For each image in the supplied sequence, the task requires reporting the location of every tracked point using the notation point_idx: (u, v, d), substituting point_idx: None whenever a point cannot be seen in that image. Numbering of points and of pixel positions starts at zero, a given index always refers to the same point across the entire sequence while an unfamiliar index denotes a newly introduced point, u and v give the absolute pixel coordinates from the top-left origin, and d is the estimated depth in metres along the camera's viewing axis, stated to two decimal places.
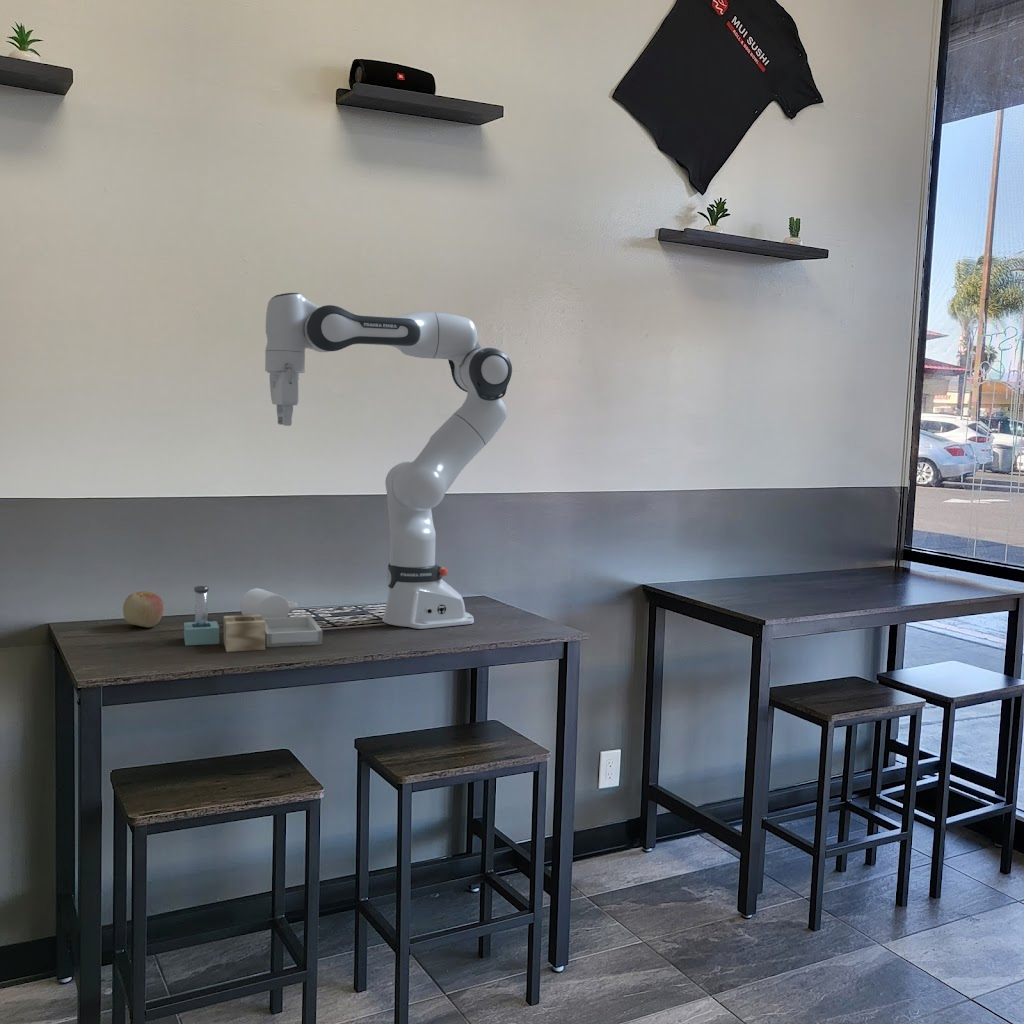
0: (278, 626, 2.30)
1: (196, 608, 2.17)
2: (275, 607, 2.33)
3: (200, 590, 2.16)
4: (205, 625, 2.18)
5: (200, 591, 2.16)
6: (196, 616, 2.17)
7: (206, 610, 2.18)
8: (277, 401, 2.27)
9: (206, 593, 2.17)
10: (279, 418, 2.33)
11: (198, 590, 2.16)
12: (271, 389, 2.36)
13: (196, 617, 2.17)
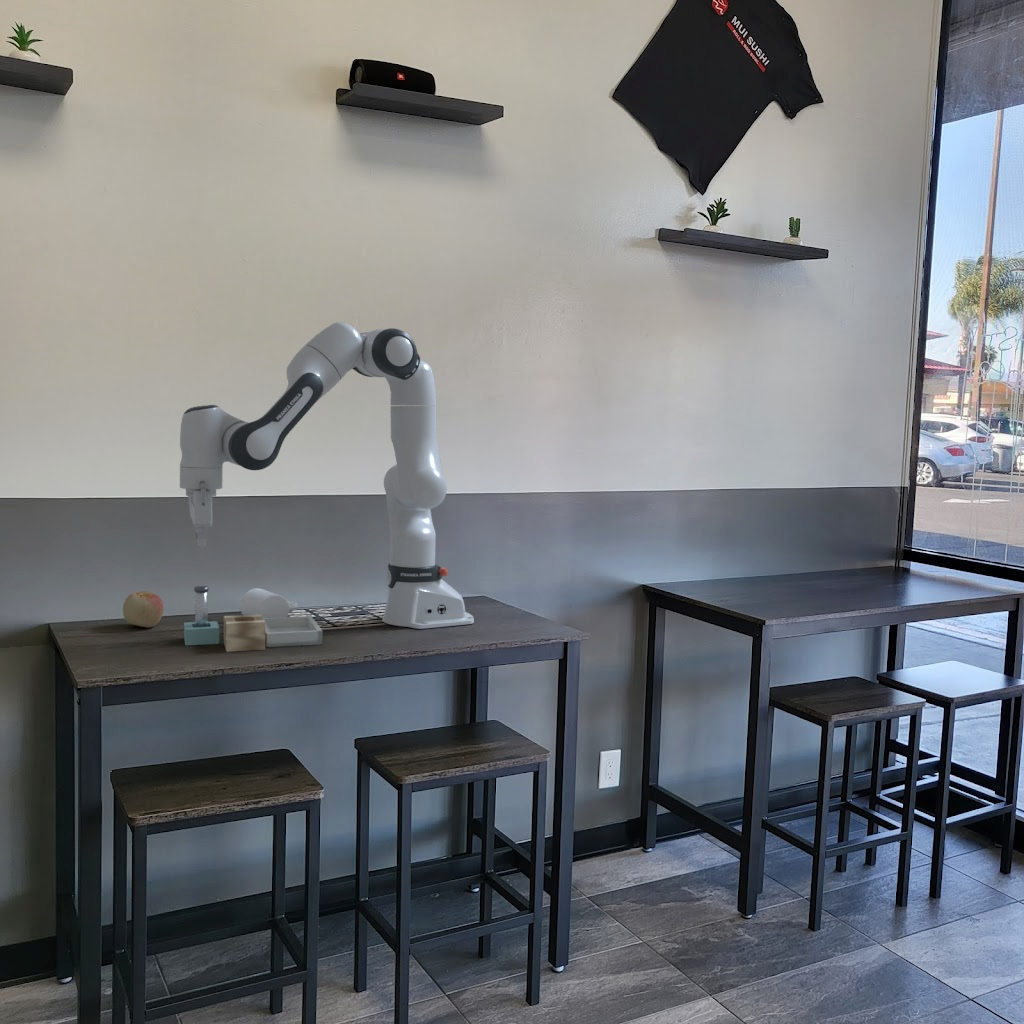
0: (278, 626, 2.30)
1: (196, 608, 2.17)
2: (275, 607, 2.33)
3: (200, 590, 2.16)
4: (205, 625, 2.18)
5: (200, 591, 2.16)
6: (196, 616, 2.17)
7: (206, 610, 2.18)
8: (192, 520, 2.14)
9: (206, 593, 2.17)
10: (196, 534, 2.20)
11: (198, 590, 2.16)
12: (189, 502, 2.23)
13: (196, 617, 2.17)
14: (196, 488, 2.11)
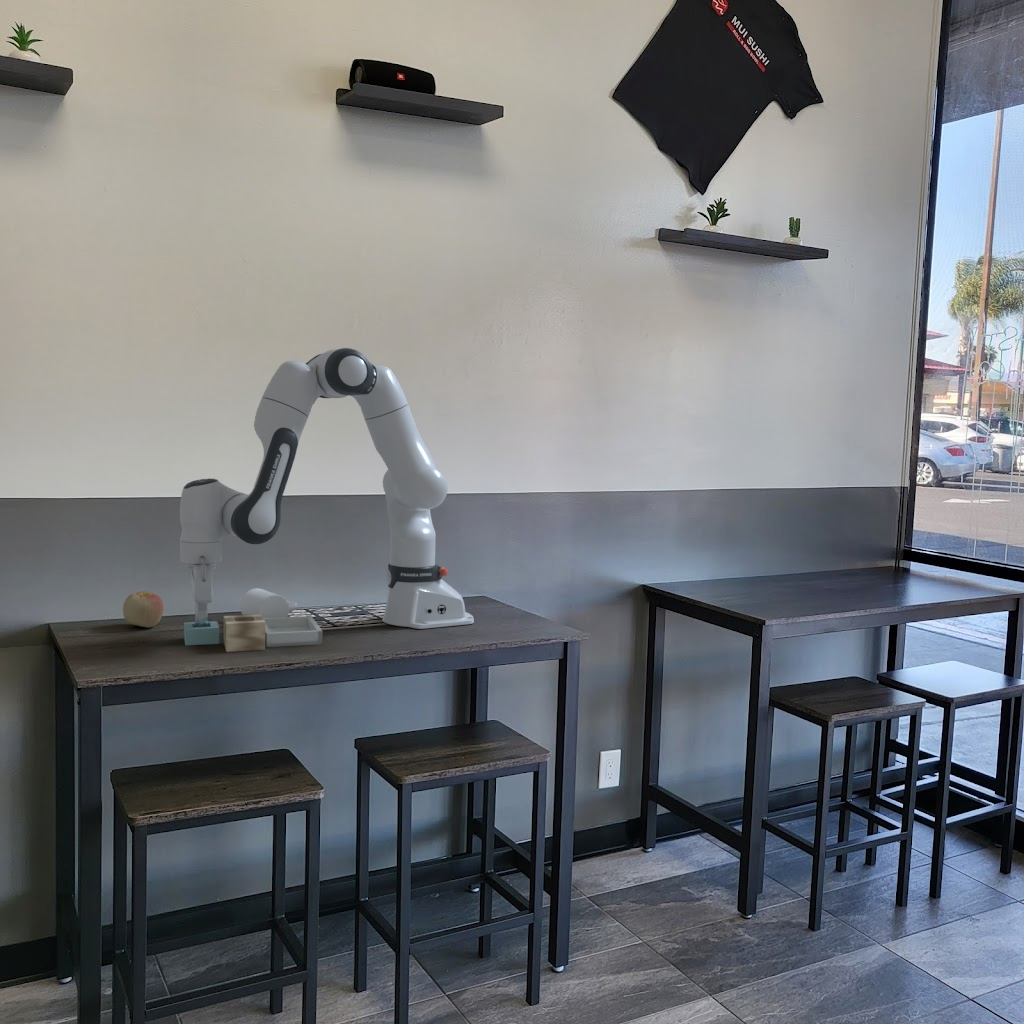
0: (278, 626, 2.30)
1: (196, 608, 2.17)
2: (275, 607, 2.33)
3: None
4: (205, 625, 2.18)
5: None
6: (196, 616, 2.17)
7: None
8: None
9: None
10: None
11: None
12: (190, 573, 2.25)
13: (196, 617, 2.17)
14: (196, 563, 2.13)
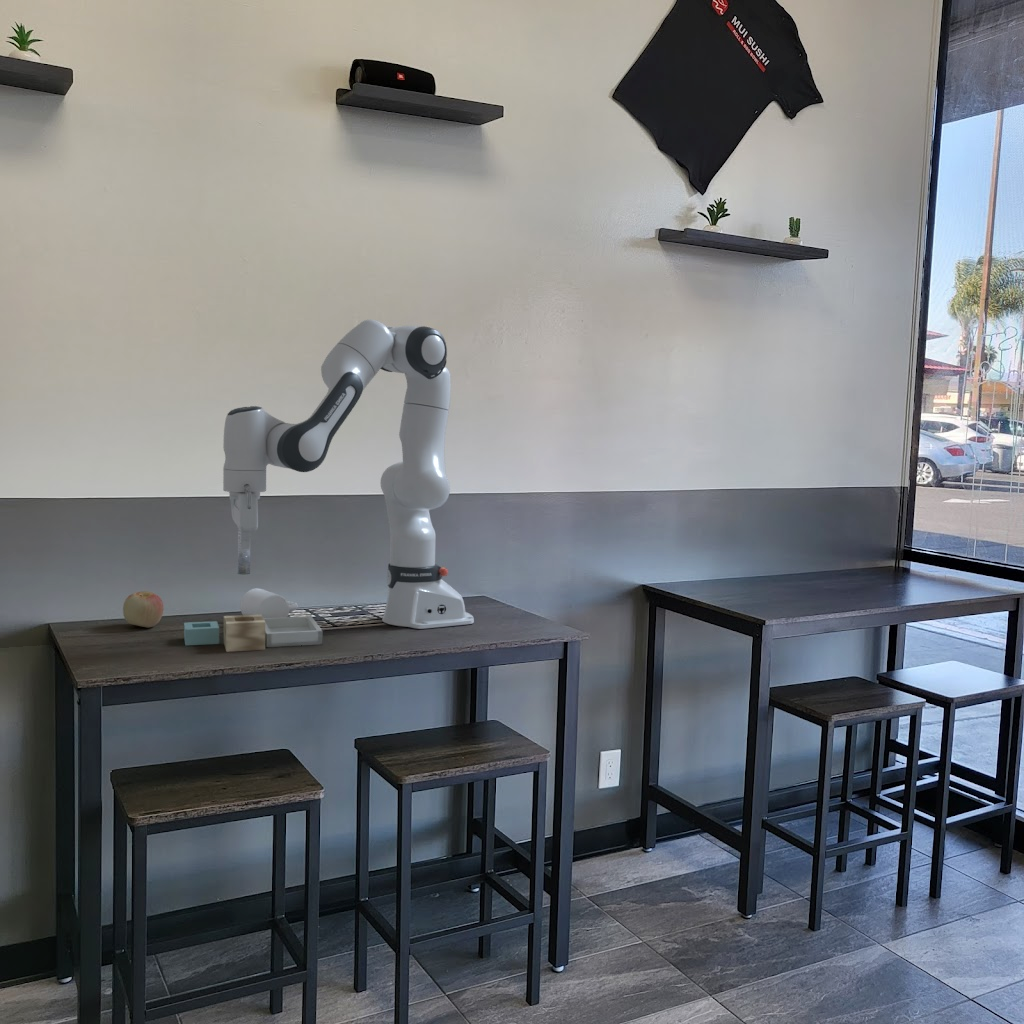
0: (278, 626, 2.30)
1: (239, 539, 2.12)
2: (275, 607, 2.33)
3: None
4: (248, 557, 2.12)
5: None
6: (239, 547, 2.12)
7: None
8: (236, 523, 2.10)
9: None
10: None
11: None
12: (231, 505, 2.19)
13: (239, 548, 2.12)
14: (240, 491, 2.07)
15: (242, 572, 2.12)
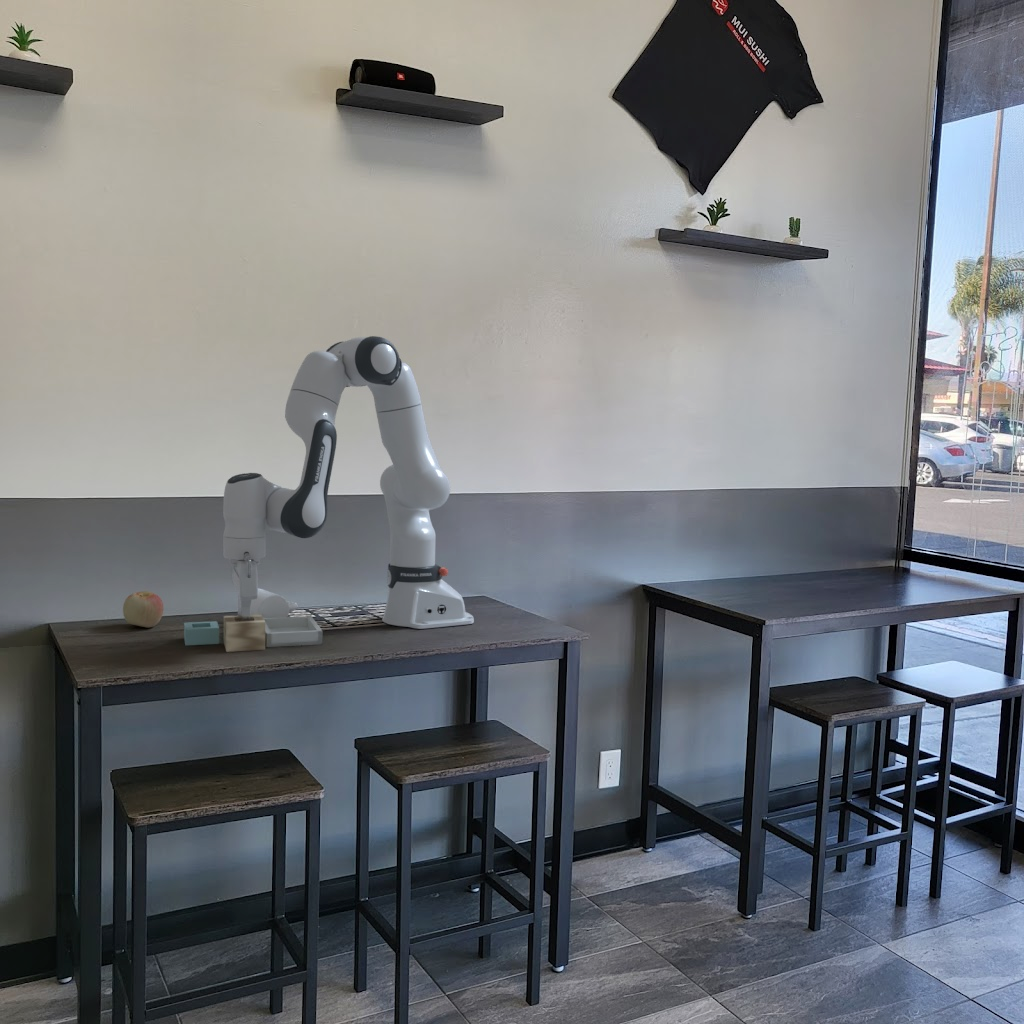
0: (278, 626, 2.30)
1: (239, 605, 2.13)
2: (275, 607, 2.33)
3: None
4: None
5: None
6: (239, 613, 2.13)
7: None
8: (236, 589, 2.12)
9: None
10: None
11: None
12: (231, 569, 2.21)
13: (239, 614, 2.13)
14: (240, 559, 2.09)
15: None
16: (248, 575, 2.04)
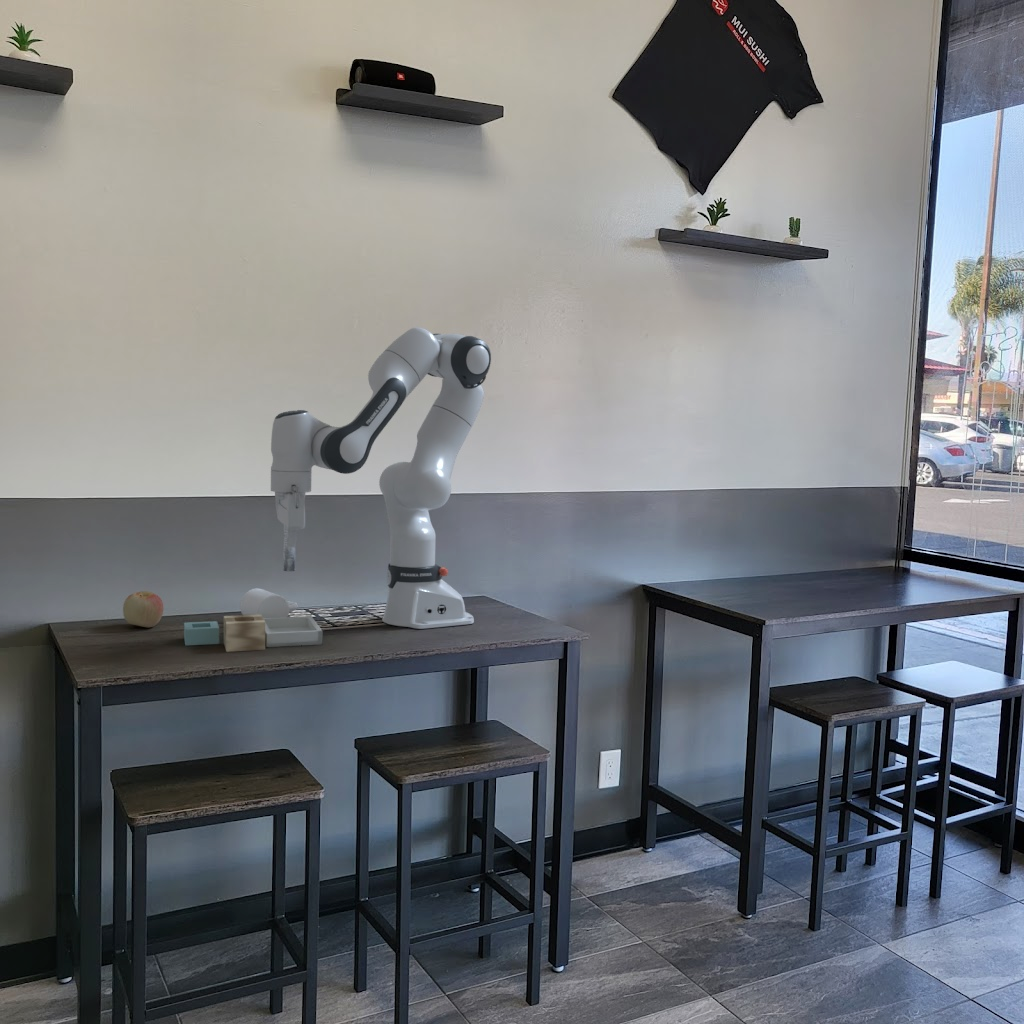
0: (278, 626, 2.30)
1: (285, 537, 2.21)
2: (275, 607, 2.33)
3: None
4: (293, 554, 2.22)
5: None
6: (285, 545, 2.21)
7: None
8: (283, 522, 2.19)
9: None
10: None
11: None
12: (276, 505, 2.29)
13: (285, 546, 2.21)
14: (288, 491, 2.17)
15: (288, 569, 2.21)
16: (296, 505, 2.12)
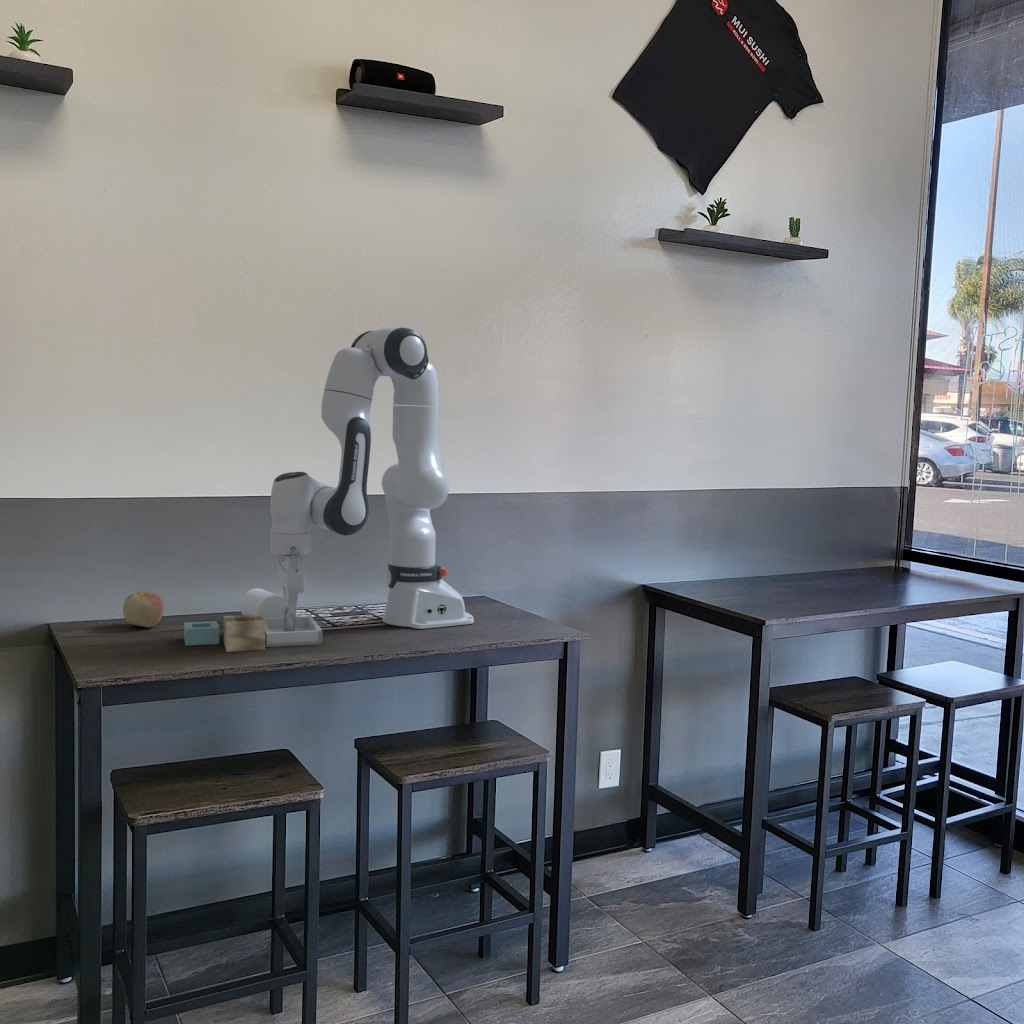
0: (278, 626, 2.30)
1: (285, 602, 2.22)
2: (275, 607, 2.33)
3: None
4: (293, 618, 2.23)
5: None
6: (285, 609, 2.23)
7: None
8: (283, 583, 2.21)
9: None
10: None
11: None
12: (276, 564, 2.30)
13: (285, 610, 2.23)
14: (287, 554, 2.18)
15: None
16: (296, 569, 2.13)
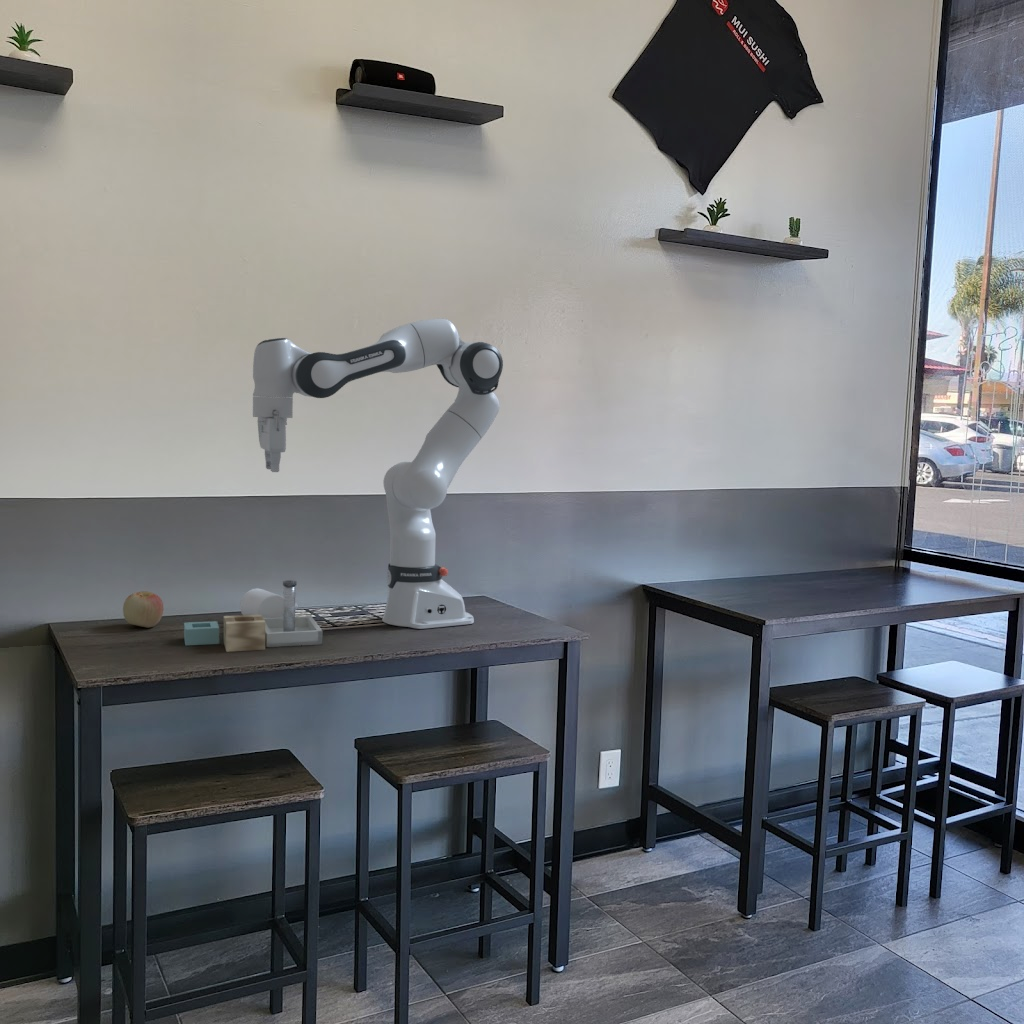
0: (278, 626, 2.30)
1: (285, 602, 2.22)
2: (275, 607, 2.33)
3: (289, 584, 2.22)
4: (293, 618, 2.23)
5: (289, 585, 2.22)
6: (285, 610, 2.23)
7: (294, 604, 2.23)
8: (265, 447, 2.25)
9: (294, 587, 2.23)
10: (267, 463, 2.31)
11: (287, 584, 2.22)
12: (259, 433, 2.34)
13: (284, 611, 2.23)
14: (269, 416, 2.22)
15: None
16: (277, 428, 2.17)
